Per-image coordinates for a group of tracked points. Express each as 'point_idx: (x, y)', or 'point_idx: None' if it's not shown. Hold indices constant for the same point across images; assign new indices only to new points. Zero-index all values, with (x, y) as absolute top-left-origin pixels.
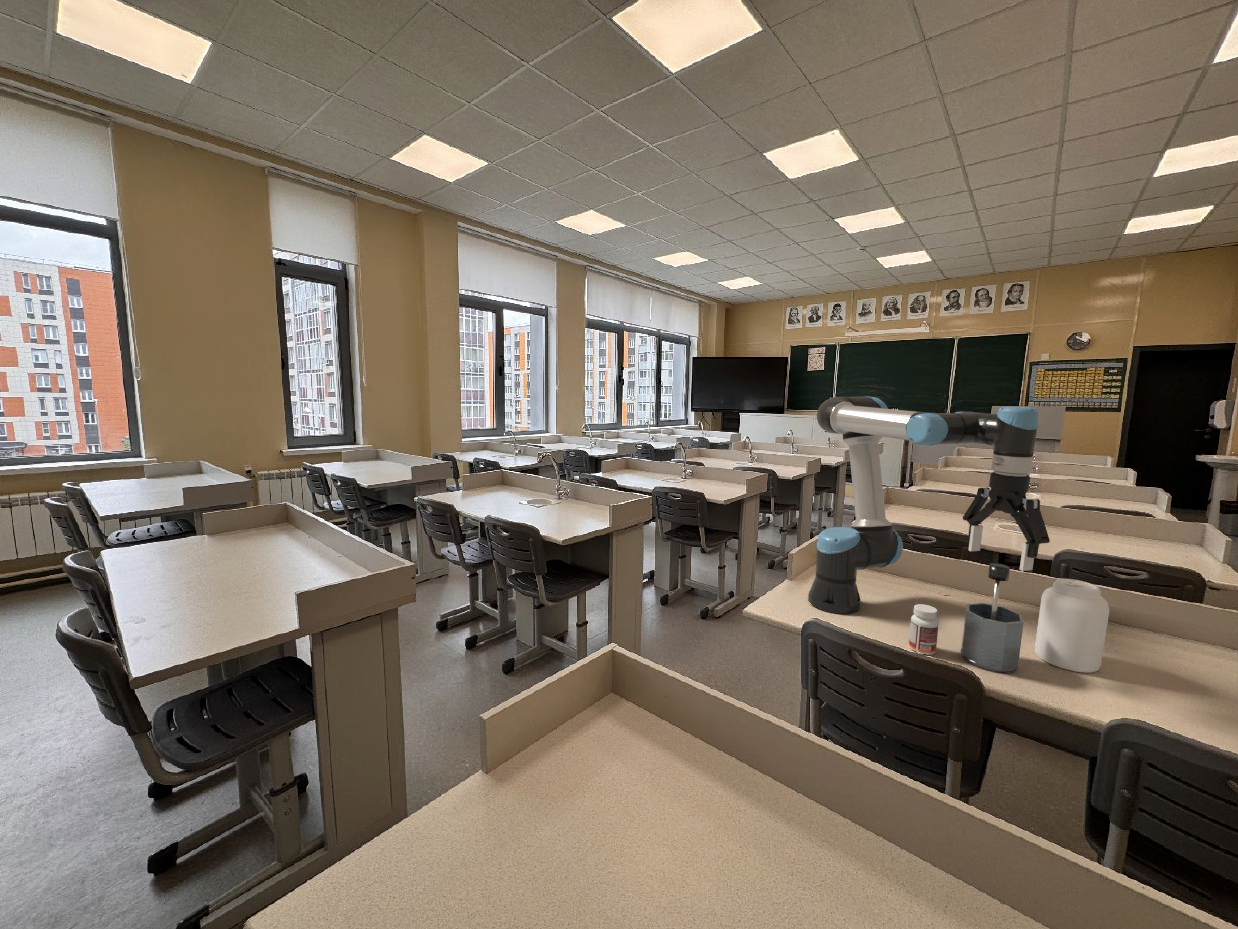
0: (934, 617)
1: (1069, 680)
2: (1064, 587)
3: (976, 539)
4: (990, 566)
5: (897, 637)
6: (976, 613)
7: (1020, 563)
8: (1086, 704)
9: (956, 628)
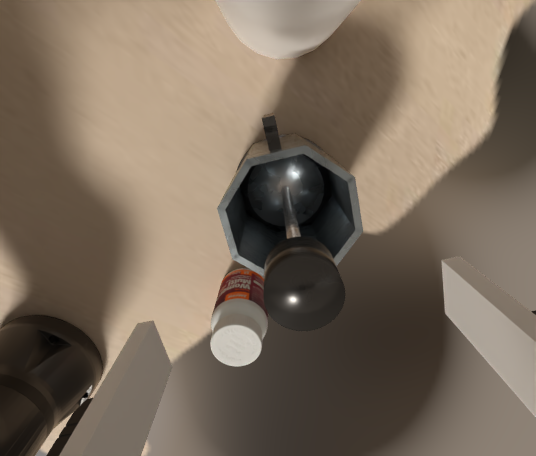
0: (260, 329)
1: (368, 63)
2: None
3: (141, 400)
4: (298, 329)
5: (195, 307)
6: (233, 218)
7: (465, 335)
8: (451, 104)
9: (134, 161)
